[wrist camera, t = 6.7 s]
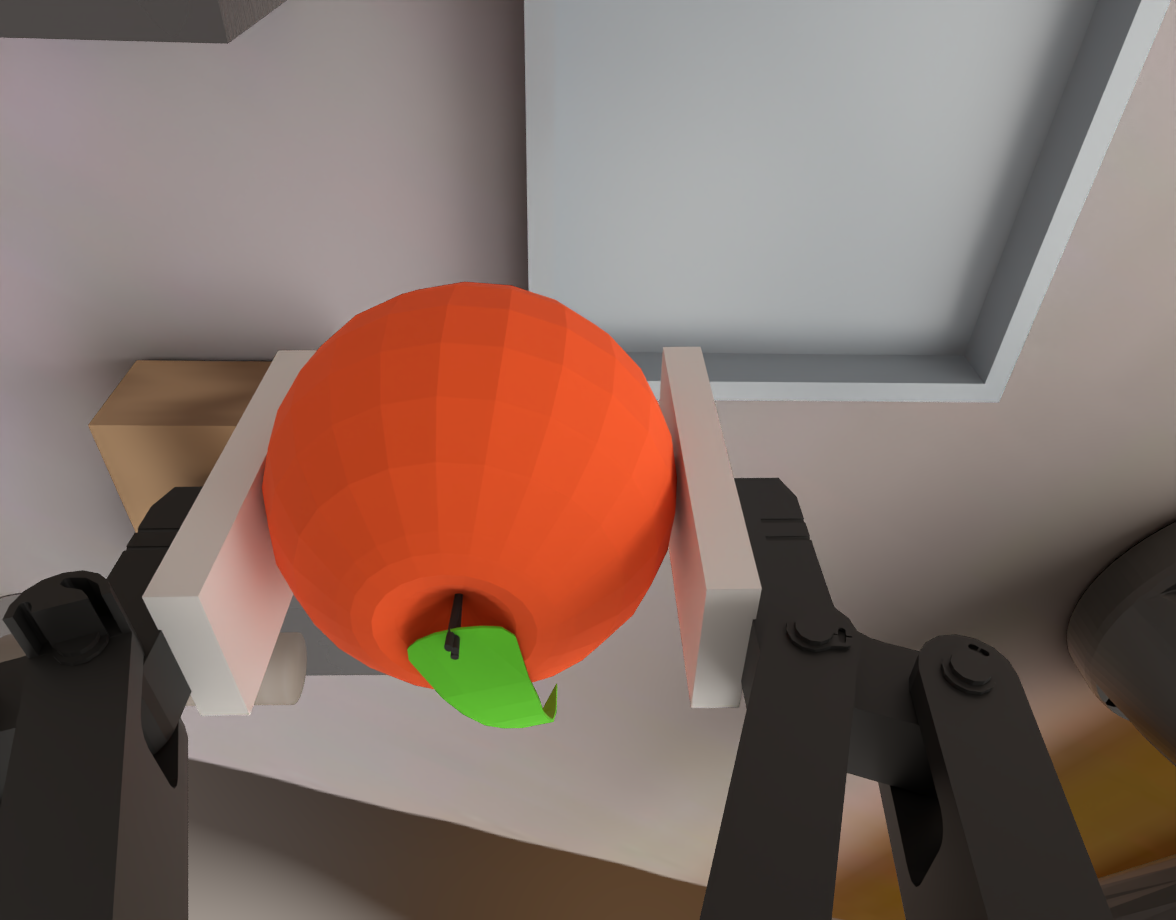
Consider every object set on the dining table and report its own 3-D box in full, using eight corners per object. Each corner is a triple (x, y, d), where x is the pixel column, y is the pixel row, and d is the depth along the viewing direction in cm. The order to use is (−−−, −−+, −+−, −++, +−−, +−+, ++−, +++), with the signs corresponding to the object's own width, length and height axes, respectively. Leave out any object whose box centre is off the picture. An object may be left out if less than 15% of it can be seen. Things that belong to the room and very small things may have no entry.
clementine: (703, 497, 19) (757, 780, 13) (429, 562, 20) (373, 847, 14) (605, 165, 14) (626, 388, 8) (255, 277, 15) (69, 537, 10)
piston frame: (292, -138, 21) (216, -121, 16) (407, 586, 38) (387, 694, 33) (-71, -151, 20) (-255, -138, 16) (213, 586, 38) (164, 696, 33)
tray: (1191, -202, 21) (1257, -202, 19) (971, 365, 31) (998, 402, 29) (523, -230, 20) (520, -234, 18) (531, 361, 31) (530, 398, 29)
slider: (356, 362, 30) (263, 627, 20) (377, 484, 34) (307, 757, 24) (136, 360, 30) (-66, 629, 20) (182, 483, 34) (31, 761, 24)
